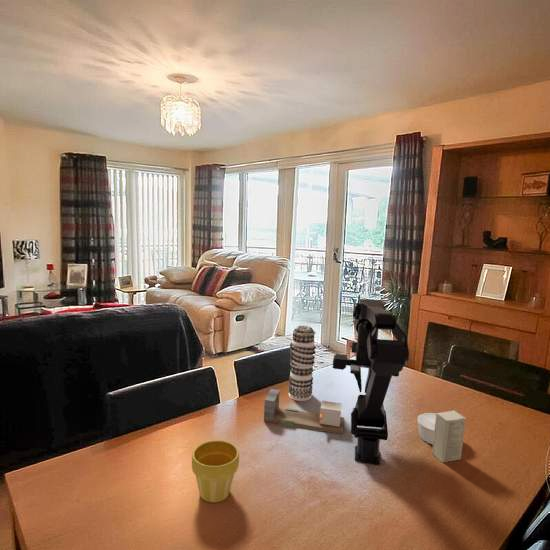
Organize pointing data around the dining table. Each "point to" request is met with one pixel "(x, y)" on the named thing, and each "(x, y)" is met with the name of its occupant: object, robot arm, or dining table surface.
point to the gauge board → (294, 416)
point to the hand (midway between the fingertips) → (363, 392)
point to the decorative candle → (301, 363)
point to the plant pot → (215, 468)
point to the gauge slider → (330, 413)
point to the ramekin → (427, 426)
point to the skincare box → (448, 436)
